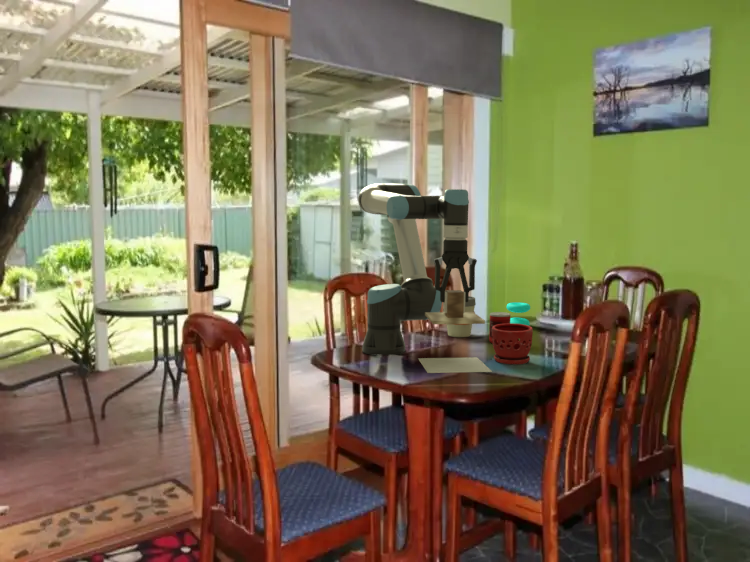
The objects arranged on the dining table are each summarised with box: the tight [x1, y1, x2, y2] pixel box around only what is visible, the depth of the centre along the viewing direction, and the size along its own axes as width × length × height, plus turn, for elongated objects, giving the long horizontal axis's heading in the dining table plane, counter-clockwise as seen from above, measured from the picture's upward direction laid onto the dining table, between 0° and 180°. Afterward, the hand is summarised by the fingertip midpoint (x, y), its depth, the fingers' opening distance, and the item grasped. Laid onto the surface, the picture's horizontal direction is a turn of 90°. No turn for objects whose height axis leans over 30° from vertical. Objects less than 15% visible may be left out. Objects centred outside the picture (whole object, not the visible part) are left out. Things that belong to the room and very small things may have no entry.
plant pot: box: [491, 323, 534, 365], centre depth 222 cm, size 13×13×12 cm
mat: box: [417, 356, 493, 374], centre depth 217 cm, size 20×20×1 cm
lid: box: [425, 289, 486, 325], centre depth 215 cm, size 16×16×9 cm
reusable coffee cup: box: [446, 296, 477, 338], centre depth 269 cm, size 13×13×15 cm
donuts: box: [506, 302, 531, 326], centre depth 289 cm, size 10×10×10 cm
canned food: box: [488, 311, 511, 344], centre depth 255 cm, size 8×8×11 cm
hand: (454, 312), depth 215 cm, fingers closed on lid, 5 cm apart
